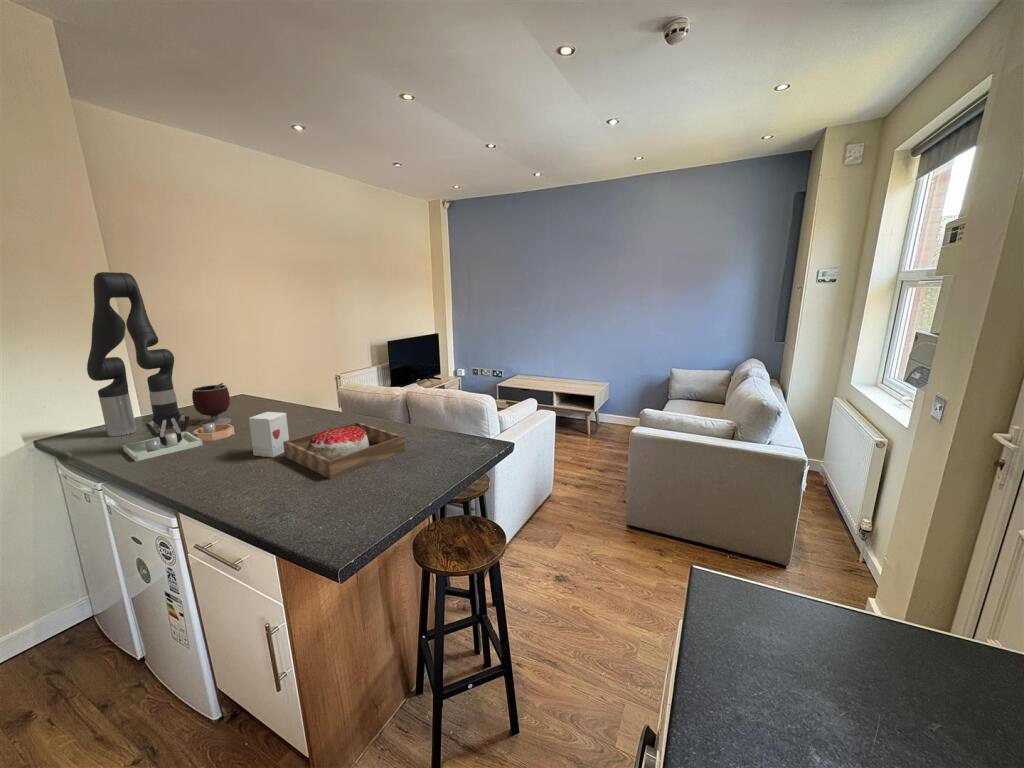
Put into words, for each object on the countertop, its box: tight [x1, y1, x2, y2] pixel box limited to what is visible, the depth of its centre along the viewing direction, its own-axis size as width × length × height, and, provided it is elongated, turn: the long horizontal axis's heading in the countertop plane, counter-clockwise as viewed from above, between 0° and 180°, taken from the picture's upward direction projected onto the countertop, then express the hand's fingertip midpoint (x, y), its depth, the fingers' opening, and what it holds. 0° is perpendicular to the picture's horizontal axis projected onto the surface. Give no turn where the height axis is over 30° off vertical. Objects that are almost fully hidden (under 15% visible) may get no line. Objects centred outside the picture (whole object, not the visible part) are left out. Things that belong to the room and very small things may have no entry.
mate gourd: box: [191, 382, 232, 428], centre depth 187 cm, size 16×14×20 cm
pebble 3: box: [202, 423, 215, 433], centre depth 169 cm, size 4×4×5 cm
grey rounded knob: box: [145, 439, 160, 452], centre depth 149 cm, size 4×4×5 cm
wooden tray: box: [283, 421, 406, 480], centre depth 152 cm, size 31×30×6 cm
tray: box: [121, 430, 204, 462], centre depth 155 cm, size 18×20×3 cm
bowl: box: [192, 423, 235, 442], centre depth 169 cm, size 13×13×4 cm
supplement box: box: [248, 411, 290, 458], centre depth 152 cm, size 9×9×15 cm
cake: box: [307, 426, 370, 460], centre depth 151 cm, size 23×24×10 cm
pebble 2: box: [164, 431, 178, 448], centre depth 157 cm, size 4×4×5 cm
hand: (171, 443), depth 157 cm, fingers closed on pebble 2, 3 cm apart
